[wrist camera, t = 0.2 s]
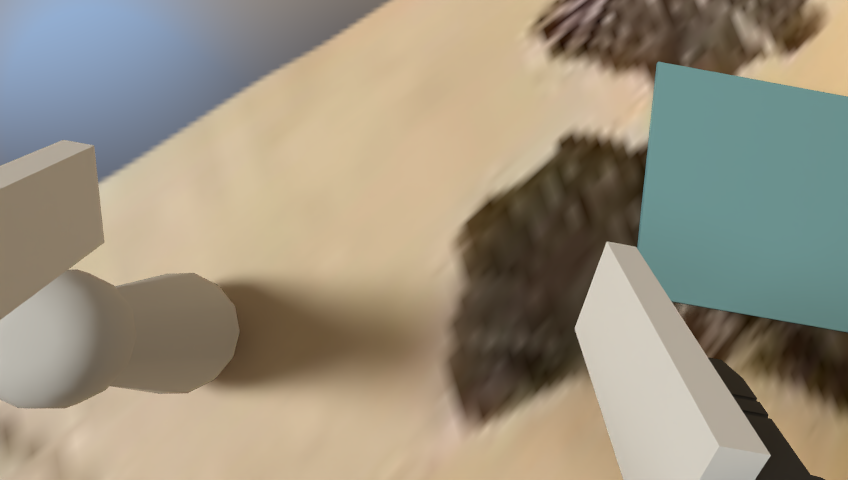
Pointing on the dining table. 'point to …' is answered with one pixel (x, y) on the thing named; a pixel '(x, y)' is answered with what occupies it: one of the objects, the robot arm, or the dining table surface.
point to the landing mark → (747, 197)
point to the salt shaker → (115, 338)
